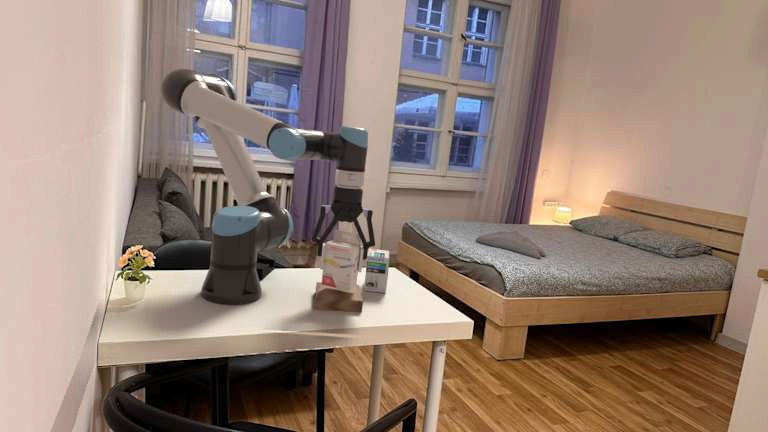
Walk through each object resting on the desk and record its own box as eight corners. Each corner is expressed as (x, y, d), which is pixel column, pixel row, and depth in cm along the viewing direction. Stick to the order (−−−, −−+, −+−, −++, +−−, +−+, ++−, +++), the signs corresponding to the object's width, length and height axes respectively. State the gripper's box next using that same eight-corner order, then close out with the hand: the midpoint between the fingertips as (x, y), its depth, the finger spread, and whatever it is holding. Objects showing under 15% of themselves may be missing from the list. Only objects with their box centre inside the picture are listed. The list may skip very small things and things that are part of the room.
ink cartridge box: (320, 285, 140) (325, 231, 138) (328, 280, 145) (333, 228, 142) (350, 291, 137) (355, 236, 135) (357, 286, 142) (362, 233, 140)
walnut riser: (315, 309, 134) (316, 298, 134) (315, 292, 148) (316, 282, 147) (361, 312, 136) (363, 301, 135) (357, 295, 149) (358, 285, 149)
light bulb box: (386, 293, 154) (389, 258, 152) (363, 291, 154) (366, 255, 152) (386, 283, 164) (390, 250, 163) (365, 281, 164) (368, 247, 163)
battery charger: (262, 282, 153) (263, 269, 152) (230, 278, 153) (230, 265, 152) (274, 271, 165) (275, 259, 165) (245, 268, 166) (245, 255, 165)
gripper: (306, 184, 132) (298, 270, 135) (392, 192, 135) (383, 276, 138) (306, 181, 139) (299, 262, 142) (388, 189, 142) (379, 268, 146)
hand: (340, 269), depth 140 cm, fingers closed on ink cartridge box, 9 cm apart
